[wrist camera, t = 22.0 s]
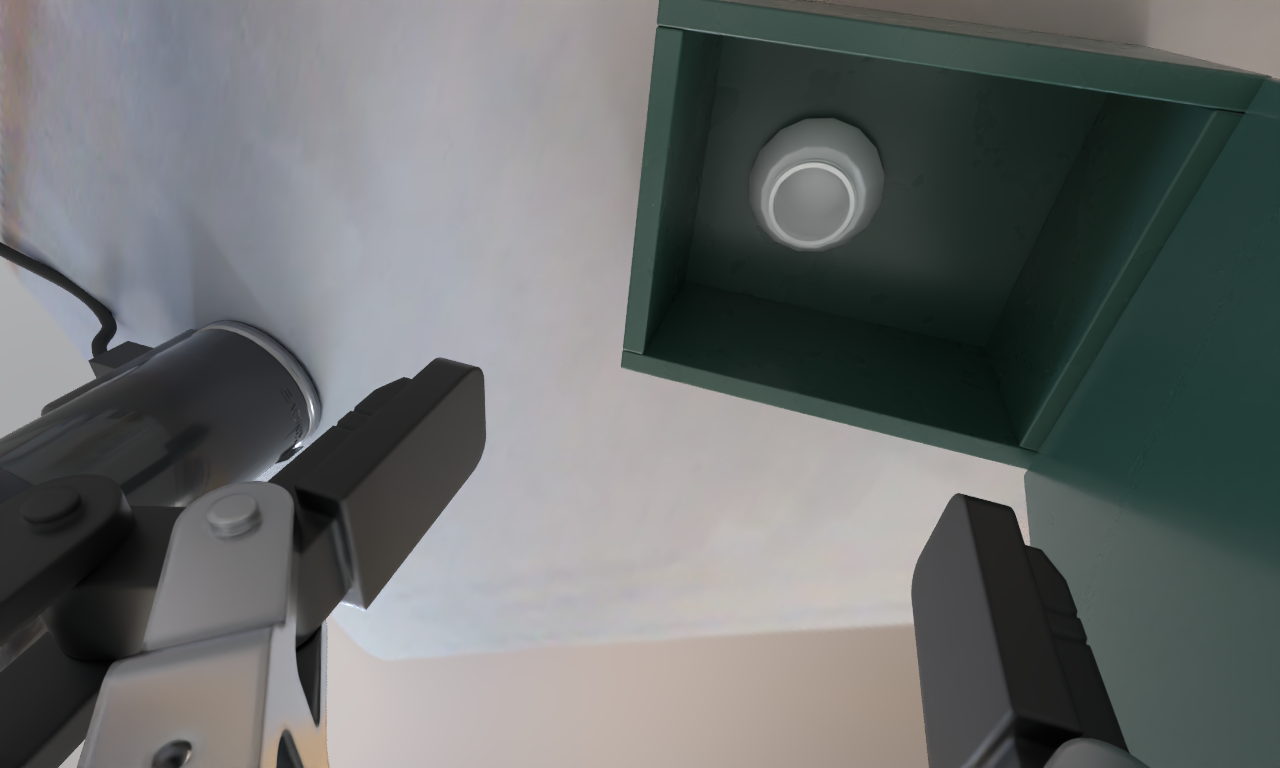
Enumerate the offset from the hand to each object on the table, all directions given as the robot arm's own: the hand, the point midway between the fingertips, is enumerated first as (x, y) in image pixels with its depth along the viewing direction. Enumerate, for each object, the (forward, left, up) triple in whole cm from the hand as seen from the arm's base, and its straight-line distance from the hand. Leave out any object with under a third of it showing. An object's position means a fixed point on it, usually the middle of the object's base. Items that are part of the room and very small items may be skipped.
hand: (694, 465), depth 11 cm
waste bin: (+3, 0, -19) cm, 19 cm away
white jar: (+1, 0, -18) cm, 18 cm away
